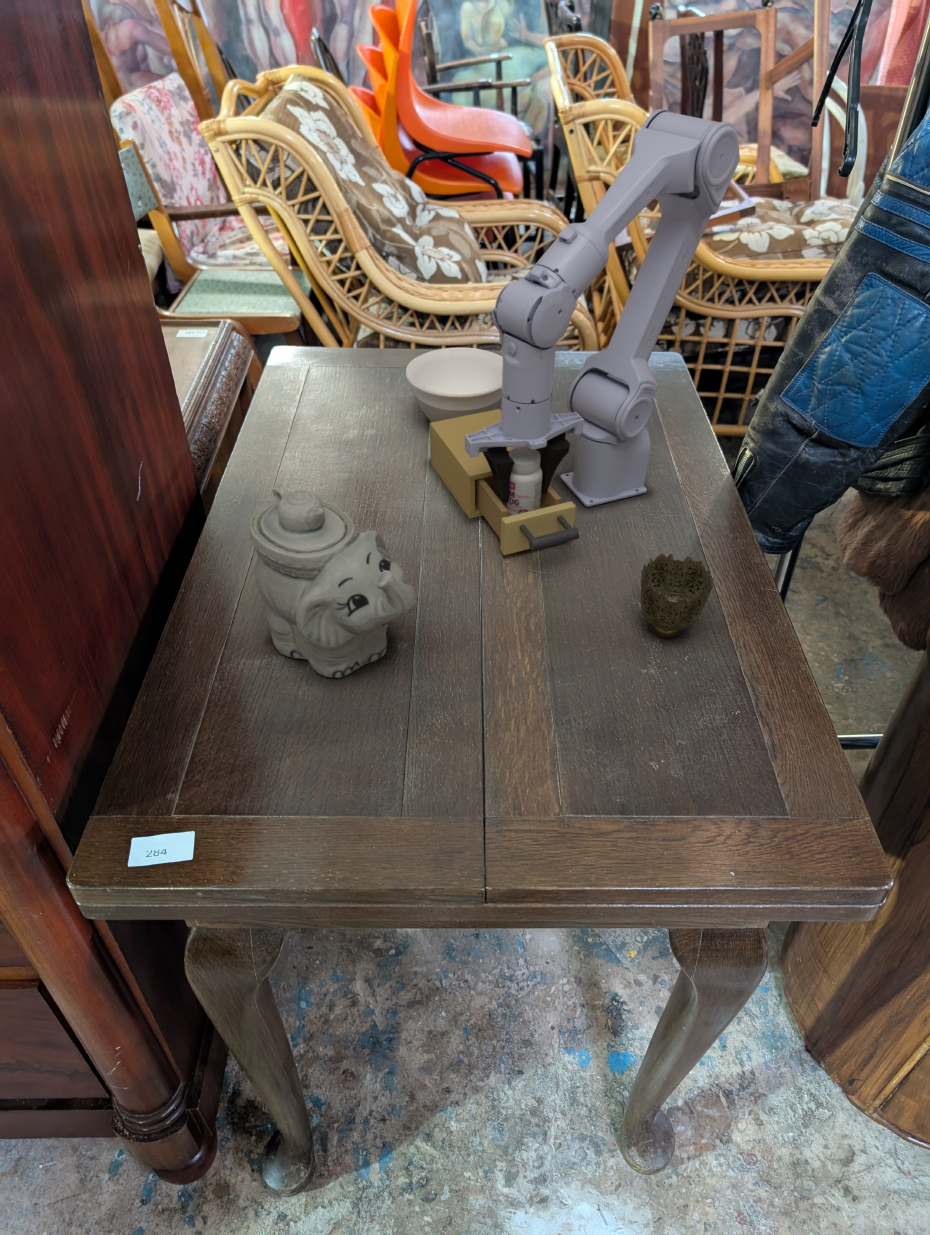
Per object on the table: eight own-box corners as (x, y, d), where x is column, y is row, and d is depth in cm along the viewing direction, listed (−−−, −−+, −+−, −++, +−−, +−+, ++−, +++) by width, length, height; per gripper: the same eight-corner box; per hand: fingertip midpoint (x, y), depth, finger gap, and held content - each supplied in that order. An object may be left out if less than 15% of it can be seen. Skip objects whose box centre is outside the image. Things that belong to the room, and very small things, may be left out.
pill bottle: (496, 518, 100) (498, 460, 94) (509, 498, 103) (511, 441, 98) (532, 526, 99) (536, 468, 93) (544, 506, 102) (548, 448, 96)
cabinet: (542, 501, 107) (545, 459, 102) (469, 519, 104) (469, 476, 100) (498, 449, 117) (499, 408, 112) (431, 463, 114) (429, 422, 110)
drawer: (589, 557, 97) (593, 525, 93) (518, 576, 94) (520, 543, 91) (526, 482, 109) (528, 452, 105) (463, 497, 106) (462, 466, 103)
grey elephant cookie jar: (423, 693, 82) (415, 548, 69) (275, 719, 79) (238, 573, 66) (397, 591, 93) (386, 451, 81) (267, 610, 91) (235, 469, 78)
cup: (703, 615, 90) (718, 560, 85) (695, 659, 85) (710, 604, 80) (637, 601, 92) (648, 546, 87) (625, 643, 87) (636, 588, 81)
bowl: (419, 454, 116) (416, 400, 110) (400, 403, 127) (396, 352, 121) (523, 441, 119) (526, 388, 113) (495, 392, 130) (497, 342, 124)
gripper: (481, 420, 85) (480, 523, 94) (600, 396, 89) (588, 497, 98) (457, 392, 90) (458, 492, 99) (571, 370, 94) (562, 468, 103)
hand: (521, 493), depth 99 cm, fingers closed on pill bottle, 5 cm apart
